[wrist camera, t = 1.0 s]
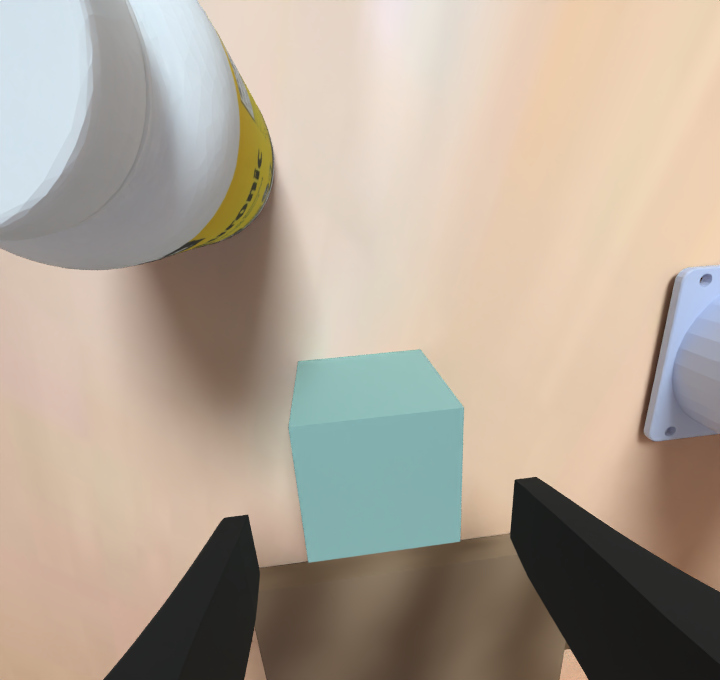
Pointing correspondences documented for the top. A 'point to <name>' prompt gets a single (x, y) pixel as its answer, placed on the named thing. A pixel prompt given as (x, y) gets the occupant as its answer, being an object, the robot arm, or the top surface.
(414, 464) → the teal cube
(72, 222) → the supplement bottle
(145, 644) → the robot arm
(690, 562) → the top surface
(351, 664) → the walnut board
